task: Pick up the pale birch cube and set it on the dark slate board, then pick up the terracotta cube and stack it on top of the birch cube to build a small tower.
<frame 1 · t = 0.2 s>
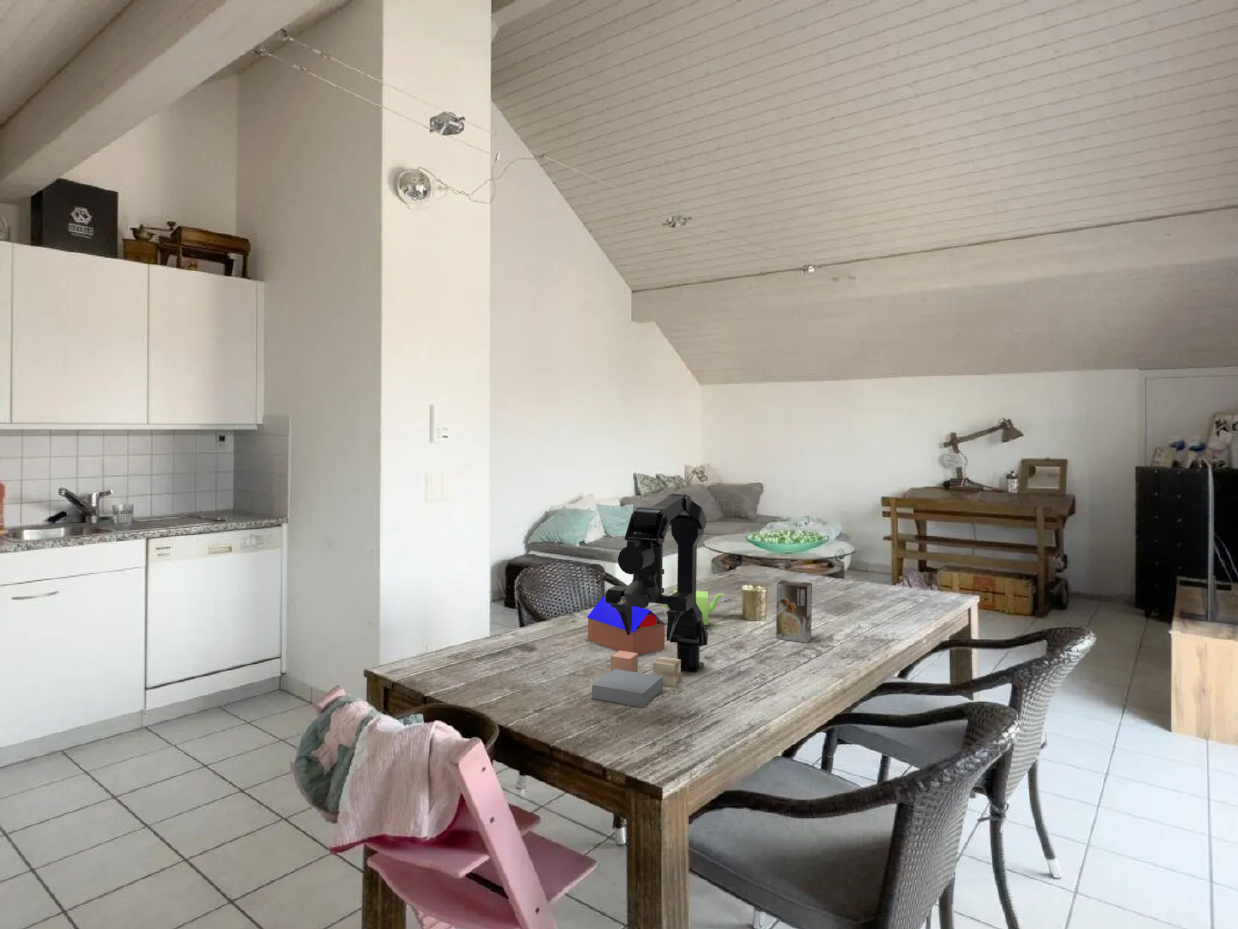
hand: (648, 637, 156), 14 cm above the table, tool pointing down, fingers open, 9 cm apart
terracotta cube: (624, 675, 175), on the table
house: (625, 645, 201), on the table
coffee box: (793, 639, 208), on the table
birch cube: (666, 682, 170), on the table
slate board: (627, 693, 162), on the table
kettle: (691, 626, 221), on the table
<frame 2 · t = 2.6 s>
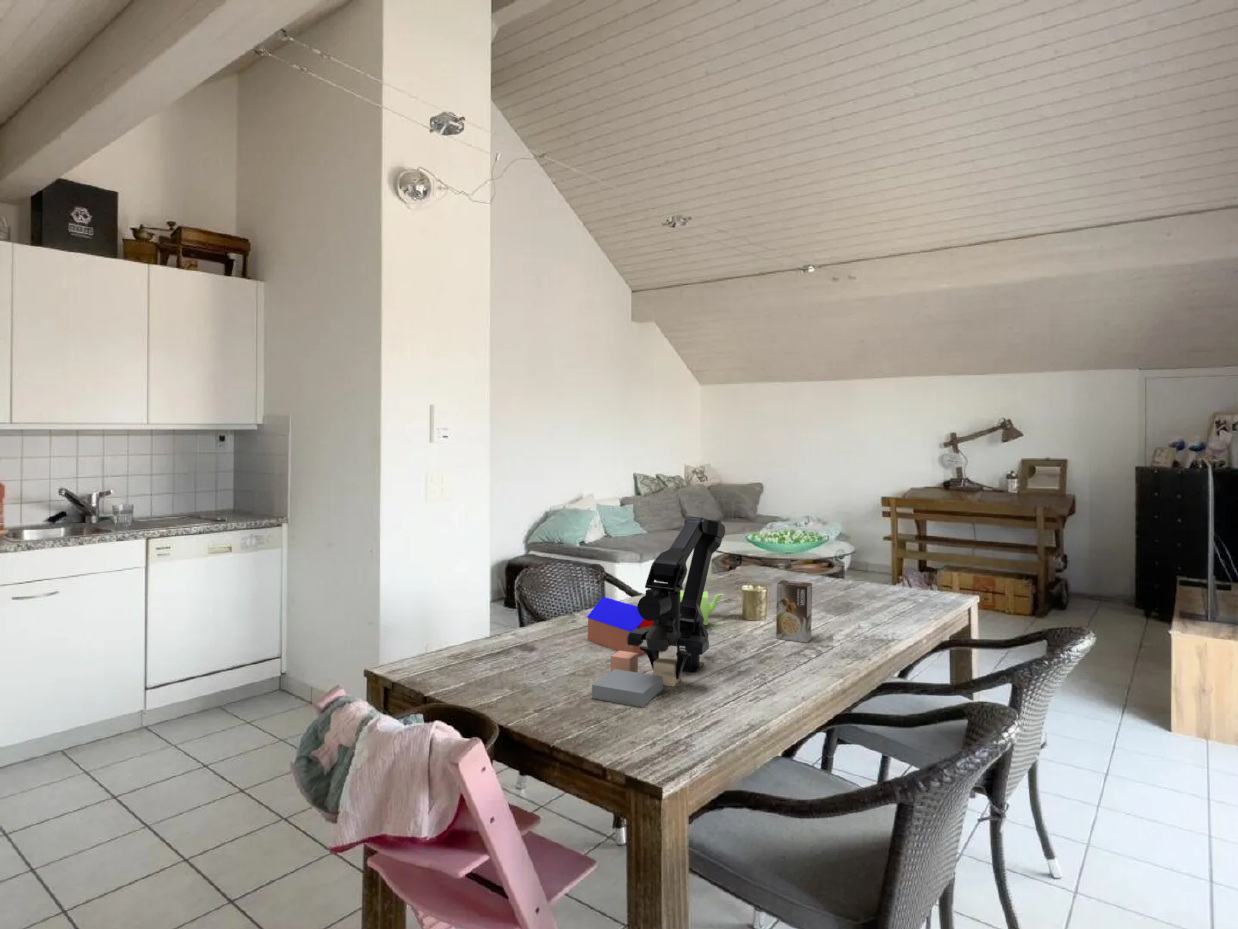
hand: (666, 677, 170), 1 cm above the table, tool pointing down, fingers closed on birch cube, 5 cm apart
birch cube: (666, 681, 170), on the table, touching gripper
everything else where it was.
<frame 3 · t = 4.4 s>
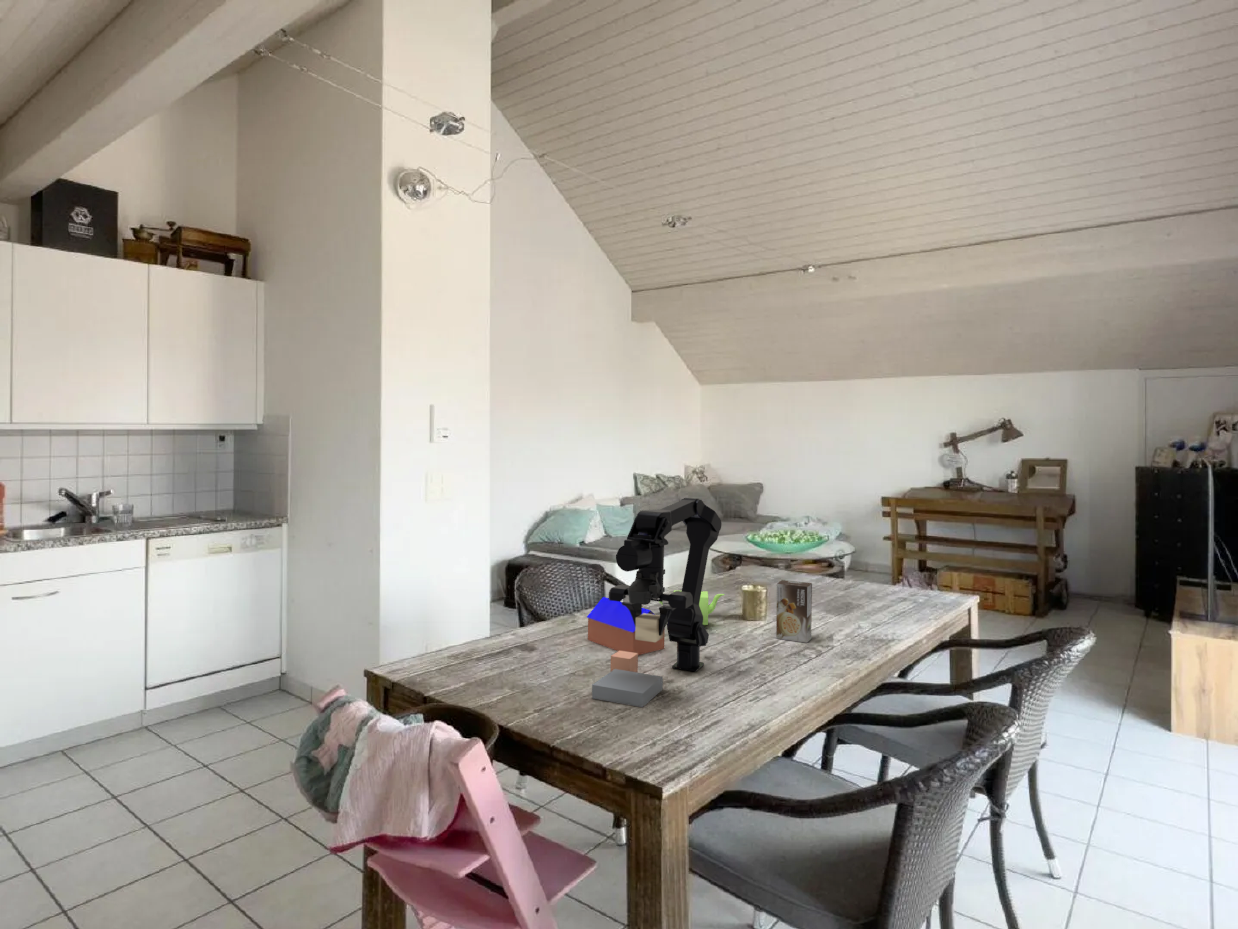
hand: (649, 633, 166), 12 cm above the table, tool pointing down, fingers closed on birch cube, 5 cm apart
birch cube: (649, 638, 166), point 11 cm above the table, touching gripper
everything else where it was.
when the fingers open (5 cm above the table, at t = 6.5 s): birch cube stays where it is, resting on slate board.
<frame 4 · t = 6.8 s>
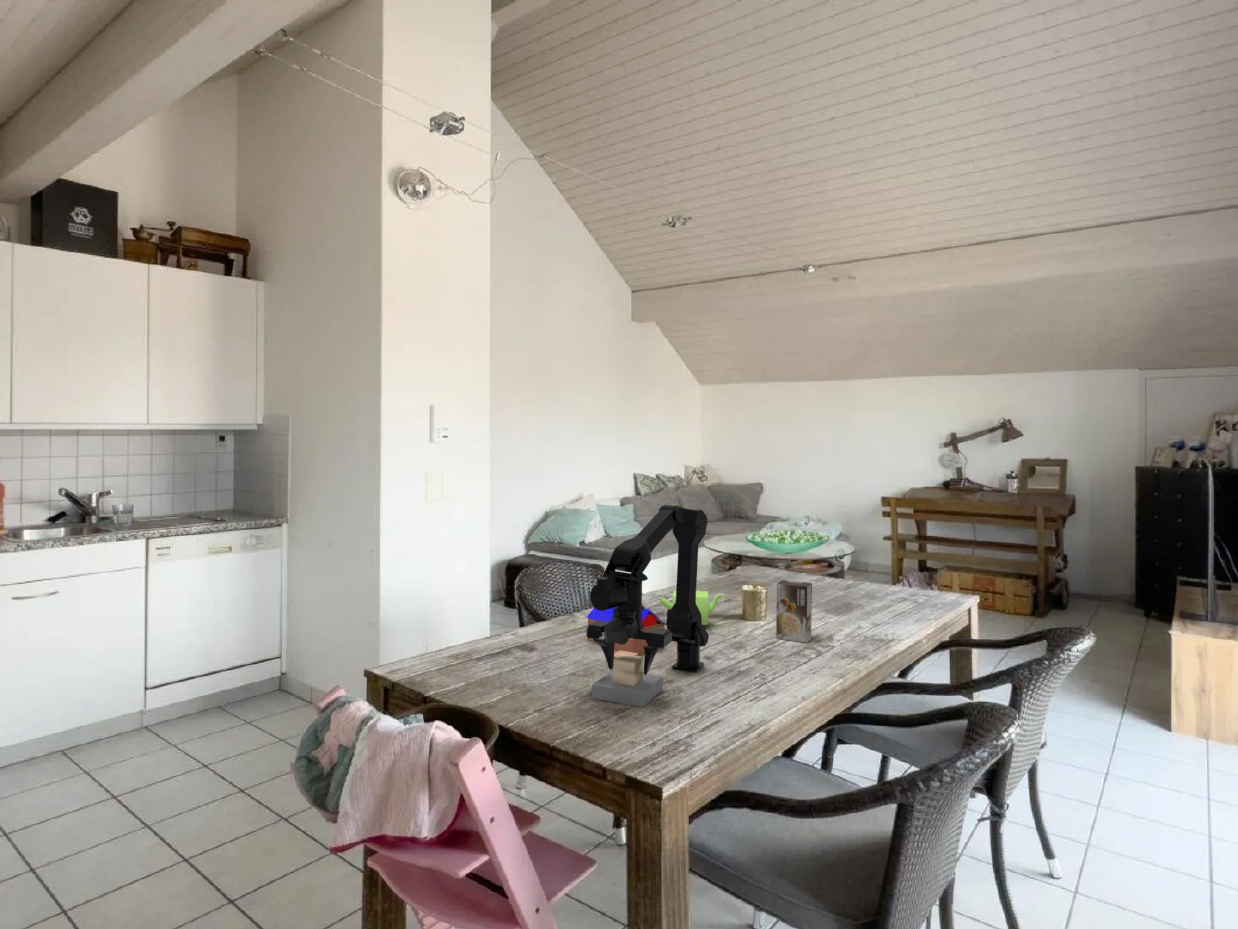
hand: (628, 671, 162), 5 cm above the table, tool pointing down, fingers open, 8 cm apart
birch cube: (628, 680, 162), point 3 cm above the table, touching slate board
everything else where it was.
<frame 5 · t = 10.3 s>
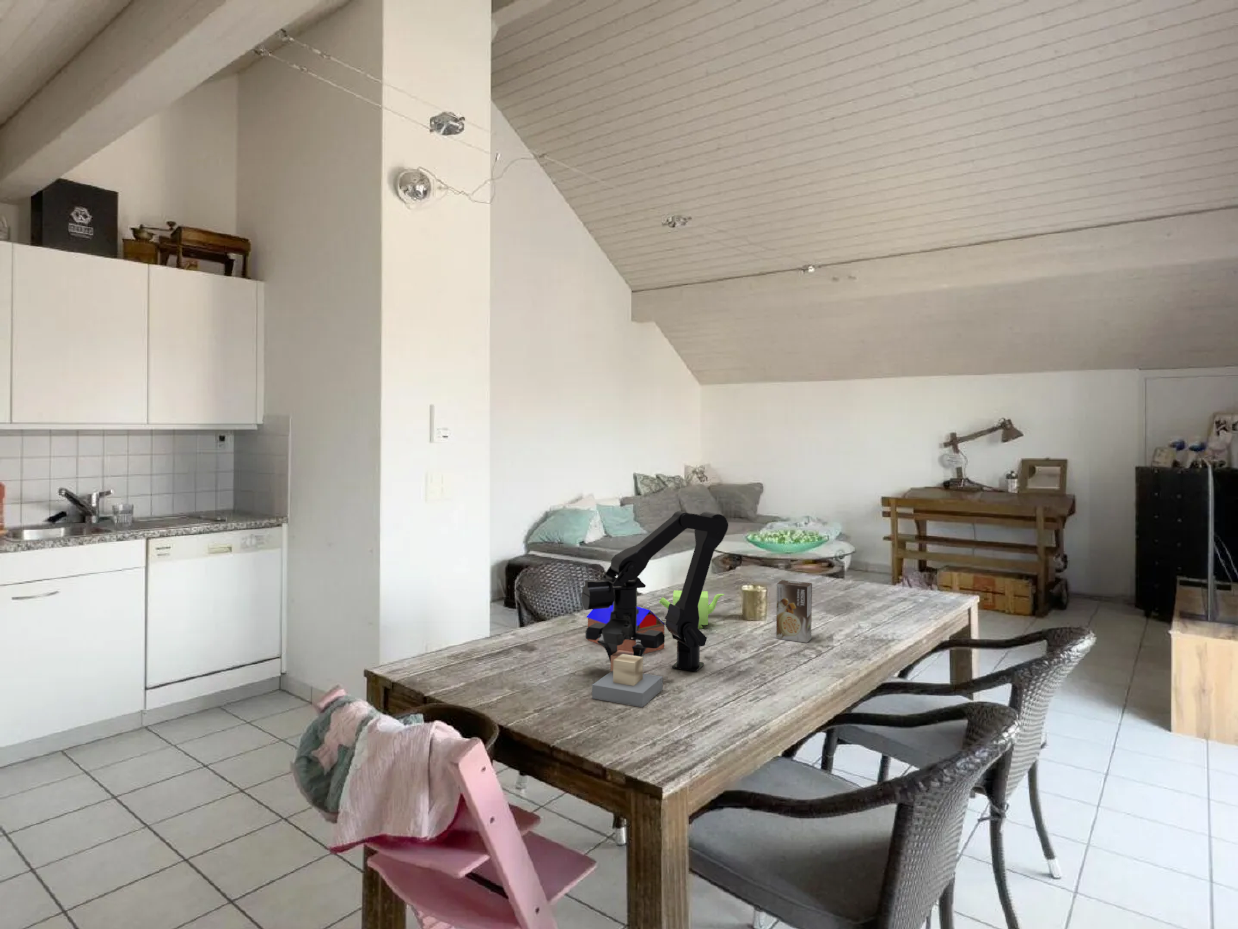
hand: (624, 670, 175), 1 cm above the table, tool pointing down, fingers closed on terracotta cube, 5 cm apart
terracotta cube: (624, 674, 175), on the table, touching gripper
everything else where it was.
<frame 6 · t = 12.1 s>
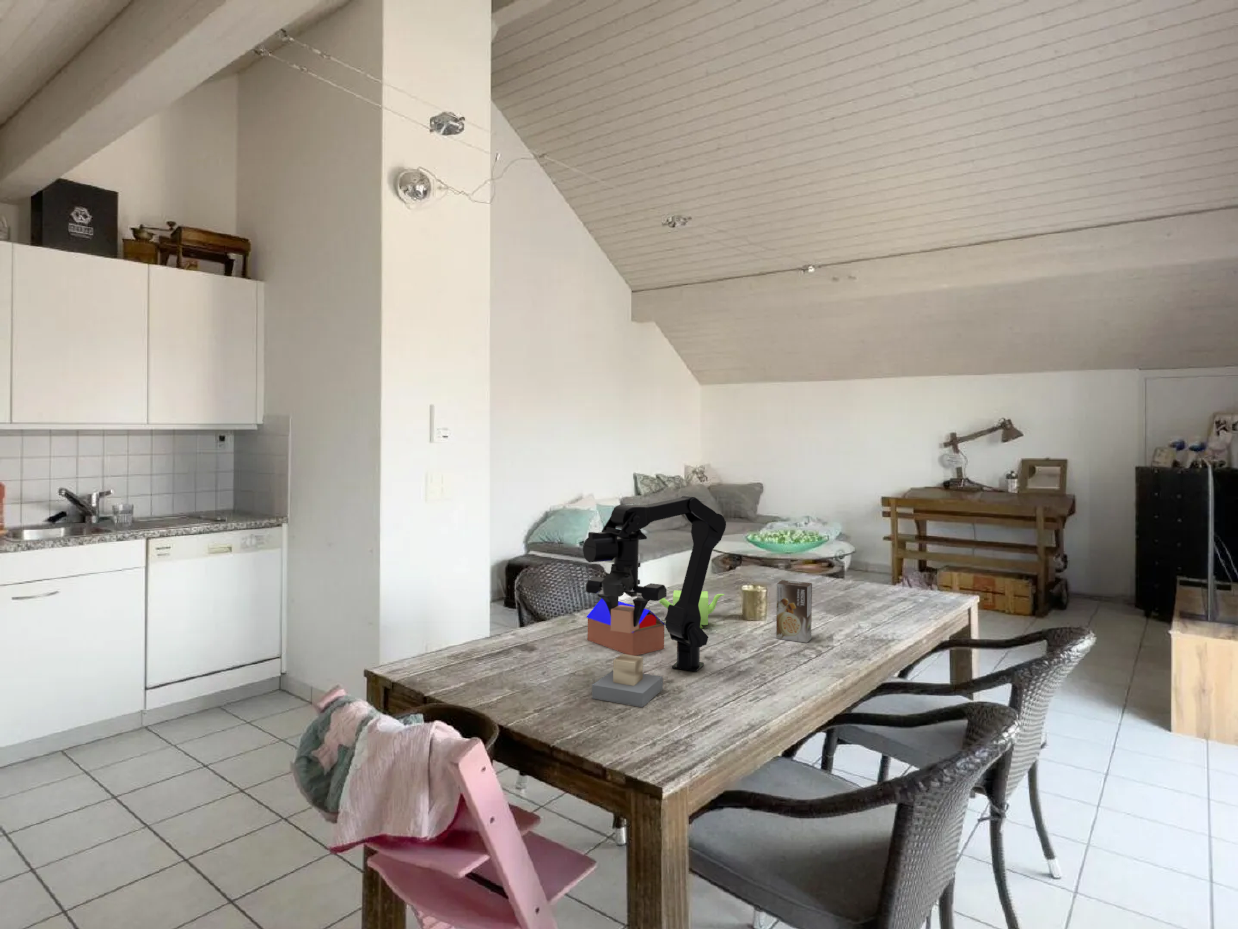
hand: (624, 625, 170), 13 cm above the table, tool pointing down, fingers closed on terracotta cube, 5 cm apart
terracotta cube: (624, 629, 170), point 12 cm above the table, touching gripper
everything else where it was.
when the fingers open (10 cm above the table, at t = 13.7 s): terracotta cube stays where it is, resting on birch cube.
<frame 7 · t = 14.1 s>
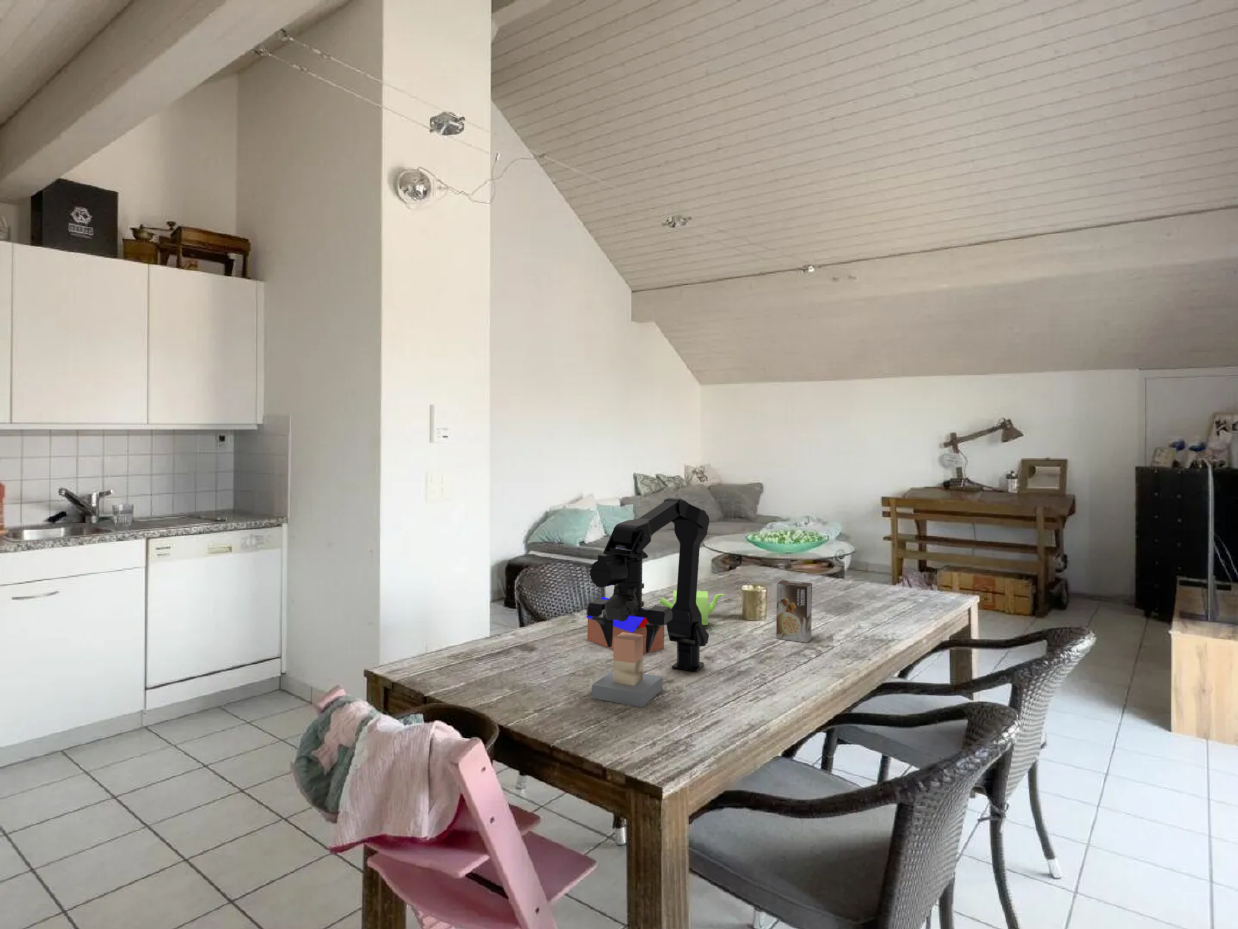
hand: (628, 649, 162), 10 cm above the table, tool pointing down, fingers open, 9 cm apart
terracotta cube: (628, 658, 162), point 8 cm above the table, touching birch cube
birch cube: (628, 680, 162), point 3 cm above the table, touching slate board, terracotta cube
everything else where it was.
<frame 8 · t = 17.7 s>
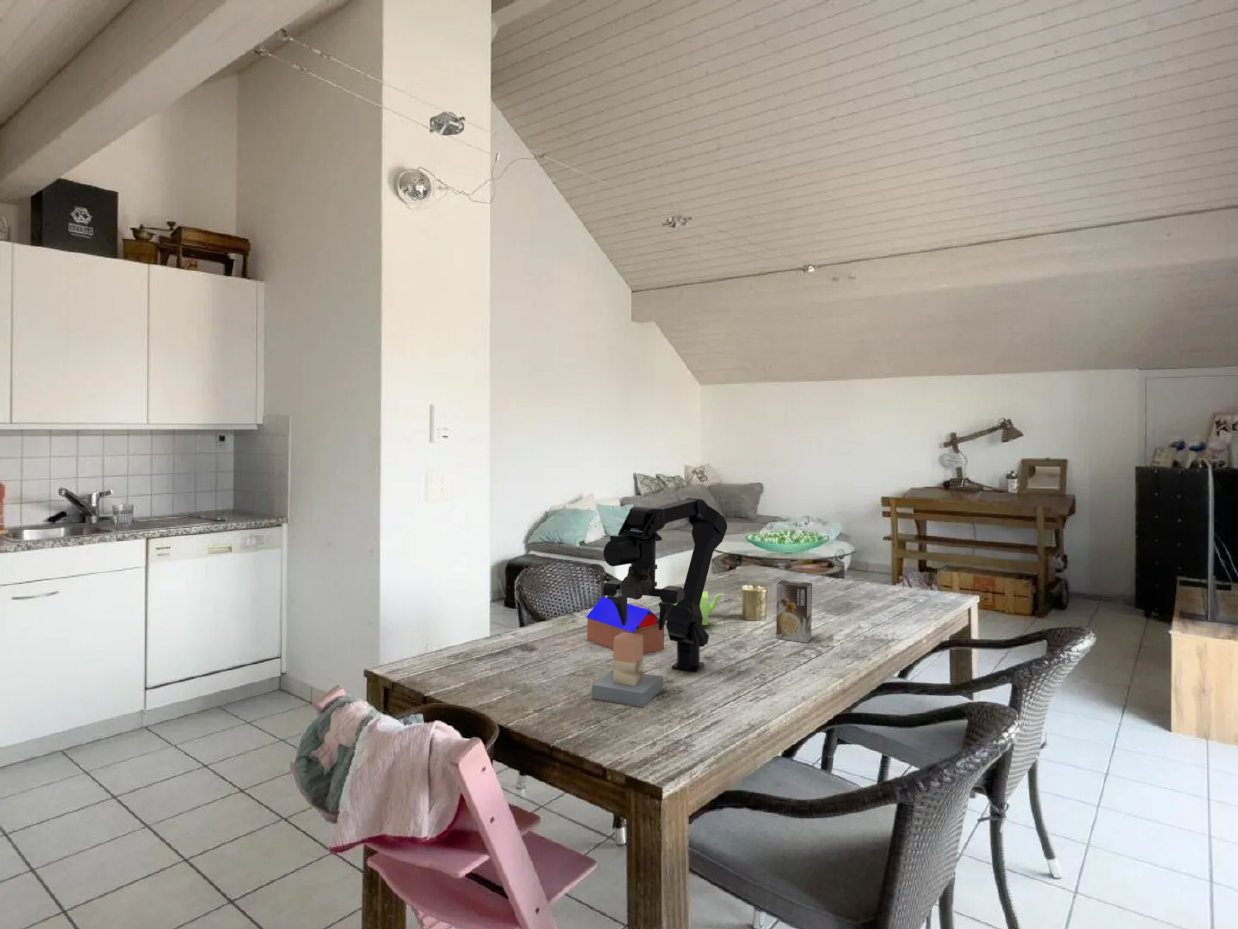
hand: (642, 627, 169), 13 cm above the table, tool pointing down, fingers open, 9 cm apart
nothing on the table moved.
at the end: birch cube 0.0 cm off-centre on the slate board, point 3.0 cm above the slate board's base; terracotta cube 0.0 cm off-centre on the birch cube, point 5.0 cm above the birch cube's base; terracotta cube tilted 0° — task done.
